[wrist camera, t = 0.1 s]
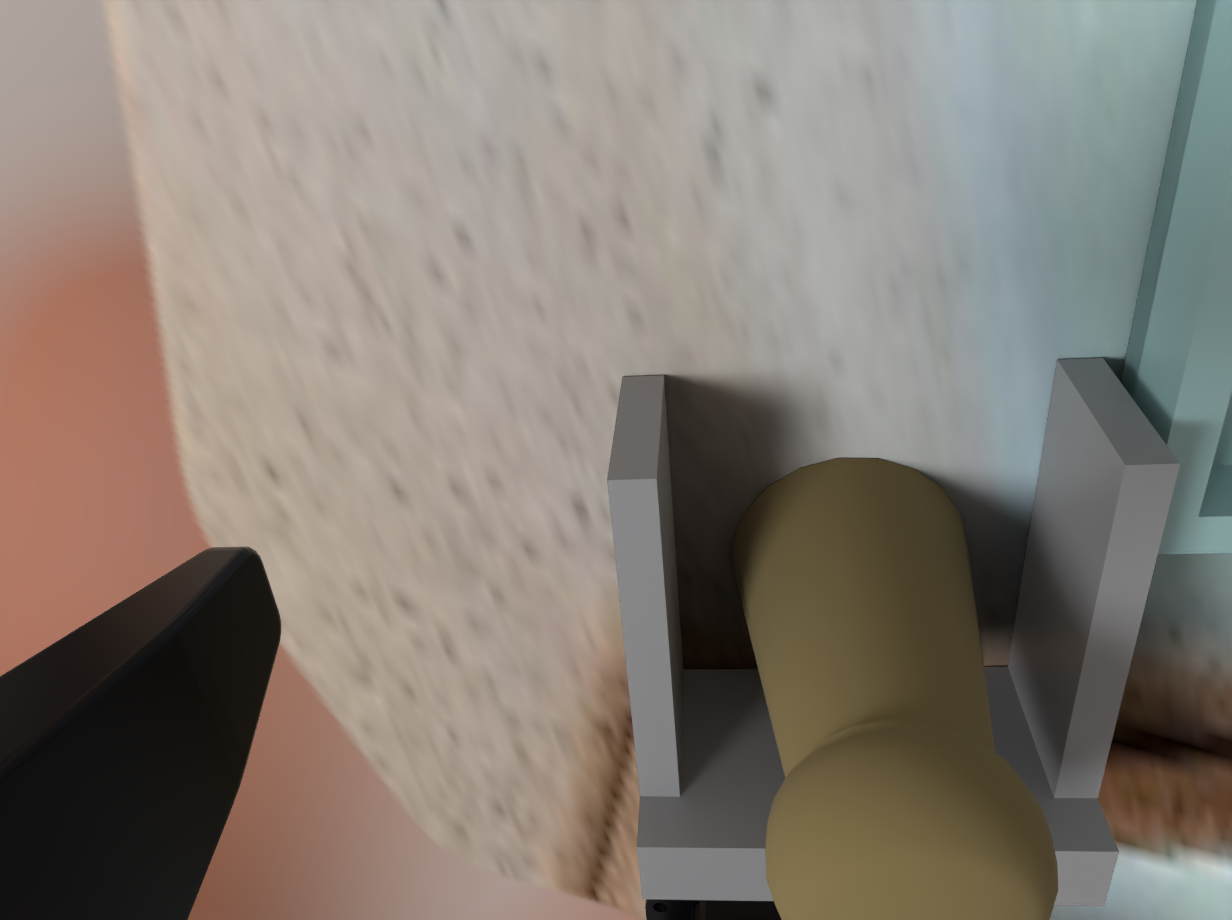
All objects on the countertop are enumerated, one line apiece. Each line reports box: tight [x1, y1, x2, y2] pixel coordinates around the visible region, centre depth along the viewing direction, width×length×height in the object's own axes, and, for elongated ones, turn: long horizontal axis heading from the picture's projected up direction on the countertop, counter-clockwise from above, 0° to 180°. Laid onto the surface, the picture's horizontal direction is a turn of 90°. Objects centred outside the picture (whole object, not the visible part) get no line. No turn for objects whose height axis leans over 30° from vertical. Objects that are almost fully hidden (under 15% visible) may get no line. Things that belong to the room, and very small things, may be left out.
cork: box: [733, 458, 1058, 920], centre depth 22 cm, size 6×6×11 cm
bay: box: [607, 358, 1180, 906], centre depth 24 cm, size 12×11×6 cm
